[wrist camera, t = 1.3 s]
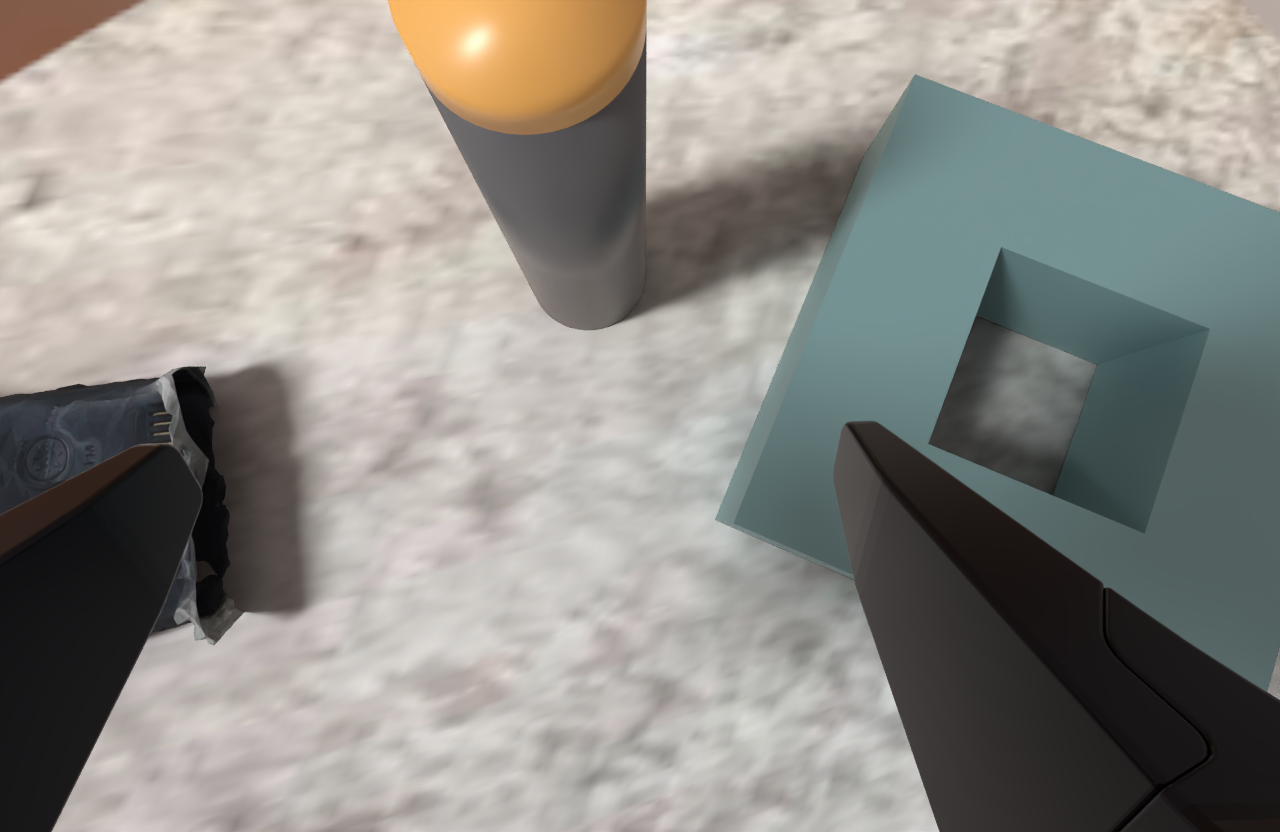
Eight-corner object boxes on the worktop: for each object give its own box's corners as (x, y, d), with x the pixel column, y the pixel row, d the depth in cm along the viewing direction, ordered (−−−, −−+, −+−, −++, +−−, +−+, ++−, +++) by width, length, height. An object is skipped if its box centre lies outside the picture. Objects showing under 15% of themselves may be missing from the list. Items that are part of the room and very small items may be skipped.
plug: (595, 353, 23) (531, 148, 10) (508, 282, 23) (332, -6, 10) (668, 266, 23) (699, -41, 10) (581, 198, 23) (503, -181, 10)
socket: (1121, 695, 21) (1250, 746, 16) (715, 519, 22) (733, 523, 17) (1244, 304, 23) (1391, 255, 18) (863, 156, 23) (914, 74, 19)
